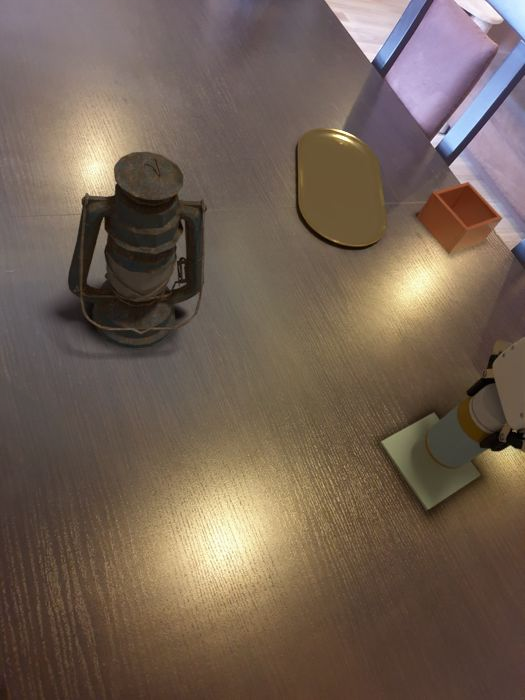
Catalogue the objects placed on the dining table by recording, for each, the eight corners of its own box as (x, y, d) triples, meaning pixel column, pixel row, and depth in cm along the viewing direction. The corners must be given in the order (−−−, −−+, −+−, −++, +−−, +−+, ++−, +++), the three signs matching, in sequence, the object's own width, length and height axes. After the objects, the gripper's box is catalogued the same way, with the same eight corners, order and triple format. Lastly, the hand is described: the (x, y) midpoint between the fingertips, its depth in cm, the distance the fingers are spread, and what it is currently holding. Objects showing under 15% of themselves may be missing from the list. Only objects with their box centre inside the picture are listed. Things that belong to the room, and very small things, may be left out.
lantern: (190, 283, 96) (224, 136, 71) (201, 356, 88) (242, 221, 64) (69, 282, 90) (60, 121, 65) (70, 360, 83) (60, 213, 58)
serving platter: (296, 240, 107) (299, 234, 106) (295, 125, 126) (297, 119, 125) (388, 258, 111) (391, 253, 110) (373, 144, 130) (376, 138, 129)
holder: (451, 205, 125) (468, 181, 119) (483, 241, 121) (502, 218, 115) (416, 216, 120) (432, 192, 114) (448, 254, 116) (467, 230, 110)
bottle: (471, 445, 87) (534, 401, 74) (455, 479, 83) (518, 439, 70) (433, 418, 87) (488, 370, 75) (415, 450, 84) (471, 406, 71)
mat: (432, 413, 94) (434, 412, 93) (478, 476, 89) (481, 474, 89) (379, 442, 88) (381, 441, 88) (426, 511, 84) (428, 509, 84)
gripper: (630, 427, 59) (523, 483, 73) (576, 294, 68) (491, 367, 82) (568, 421, 57) (472, 480, 71) (521, 285, 66) (444, 362, 81)
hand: (482, 419), depth 77 cm, fingers closed on bottle, 7 cm apart
